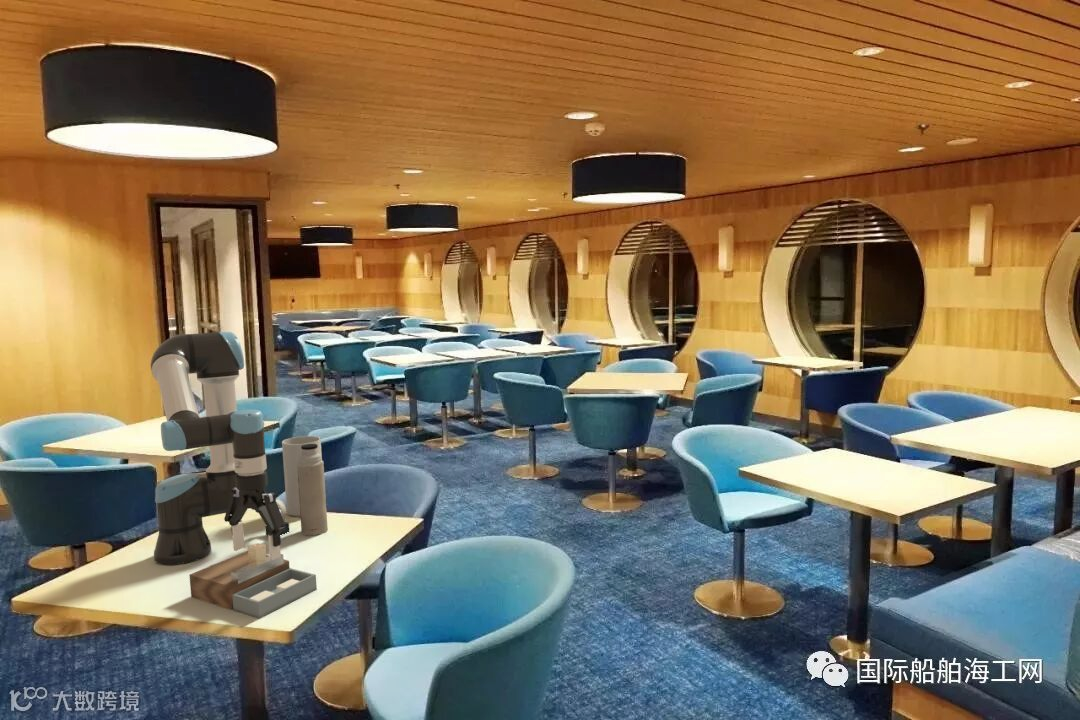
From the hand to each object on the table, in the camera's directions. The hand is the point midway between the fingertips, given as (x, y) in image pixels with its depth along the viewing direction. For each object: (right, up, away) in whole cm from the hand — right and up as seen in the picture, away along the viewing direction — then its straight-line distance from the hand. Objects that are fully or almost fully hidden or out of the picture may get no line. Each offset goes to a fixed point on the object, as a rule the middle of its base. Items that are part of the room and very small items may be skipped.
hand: (257, 553), depth 188 cm
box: (+6, -11, -2) cm, 13 cm away
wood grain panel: (-6, -11, +5) cm, 13 cm away
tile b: (+8, -8, +1) cm, 12 cm away
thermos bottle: (0, -5, +47) cm, 47 cm away
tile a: (+4, -9, -6) cm, 11 cm away
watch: (-11, -6, +46) cm, 47 cm away
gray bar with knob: (0, -5, +1) cm, 5 cm away
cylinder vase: (-9, -3, +67) cm, 68 cm away
